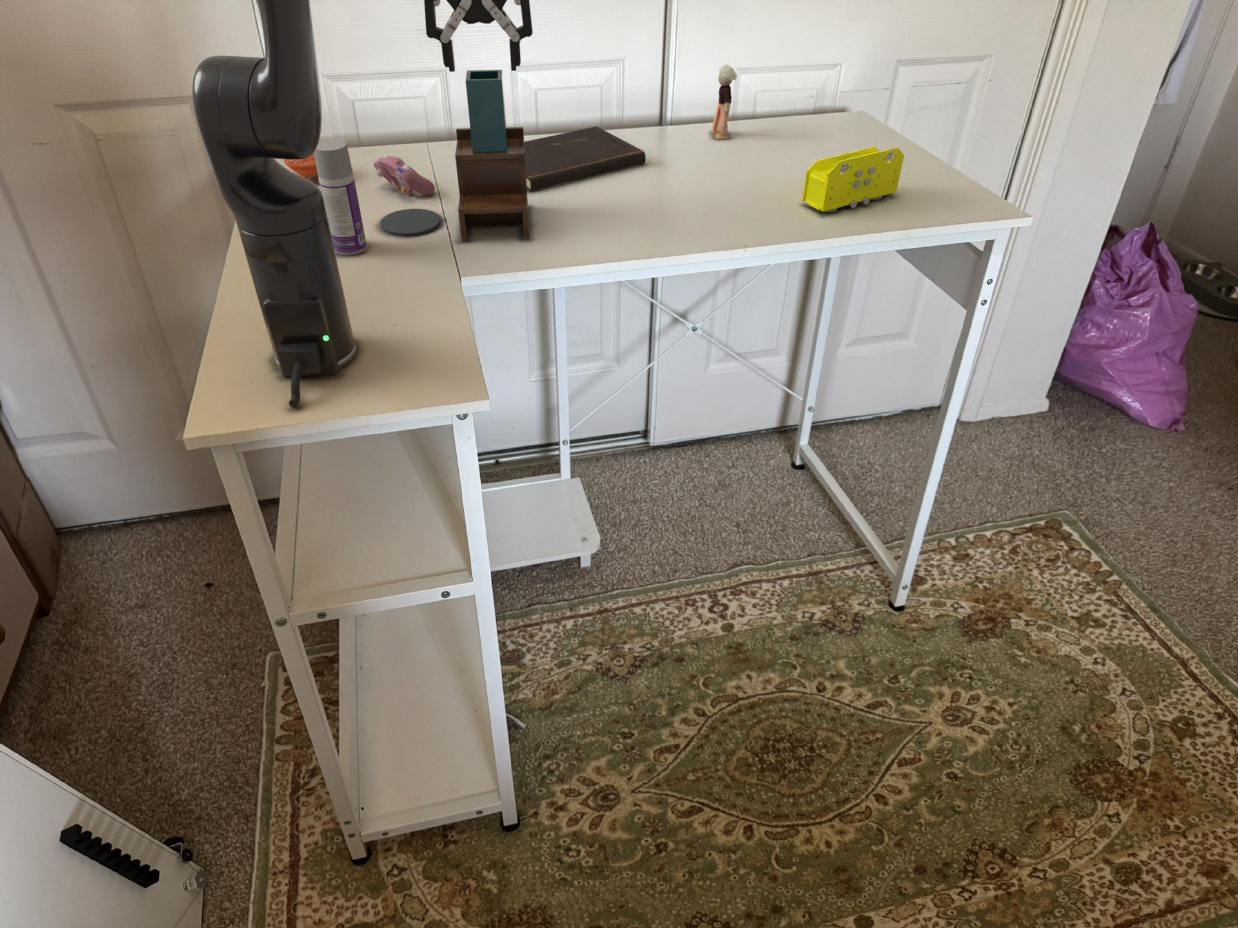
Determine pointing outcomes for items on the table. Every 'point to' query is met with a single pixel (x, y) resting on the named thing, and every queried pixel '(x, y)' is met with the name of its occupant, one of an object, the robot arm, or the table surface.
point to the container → (340, 196)
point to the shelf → (492, 184)
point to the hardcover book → (577, 157)
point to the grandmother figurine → (723, 102)
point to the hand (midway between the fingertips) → (483, 70)
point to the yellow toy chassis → (852, 178)
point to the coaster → (410, 222)
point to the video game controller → (402, 176)
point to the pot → (303, 166)
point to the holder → (486, 110)
